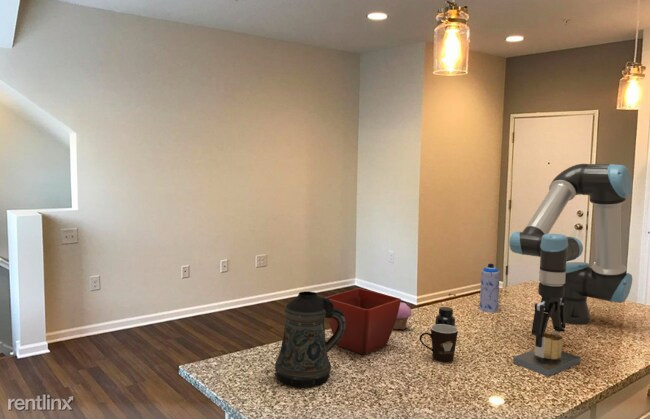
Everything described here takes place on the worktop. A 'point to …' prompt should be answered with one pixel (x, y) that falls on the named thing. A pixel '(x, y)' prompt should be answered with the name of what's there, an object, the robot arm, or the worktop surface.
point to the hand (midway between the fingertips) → (547, 353)
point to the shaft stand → (546, 362)
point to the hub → (551, 345)
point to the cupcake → (402, 316)
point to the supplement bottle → (445, 316)
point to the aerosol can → (489, 289)
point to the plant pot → (365, 319)
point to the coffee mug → (442, 342)
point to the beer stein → (307, 341)
